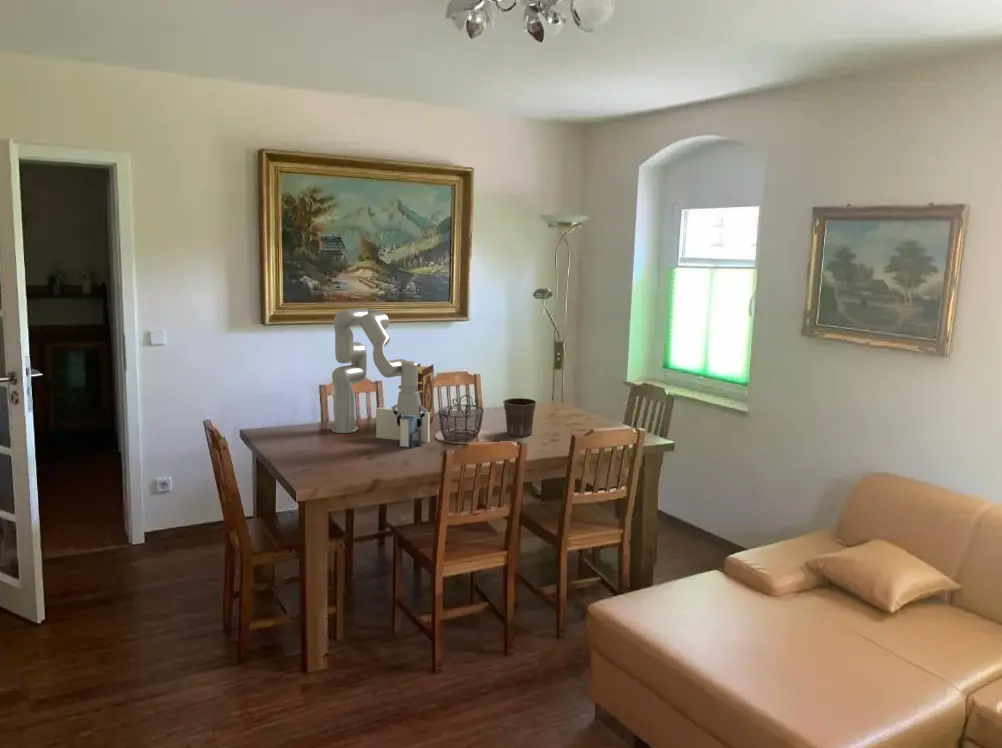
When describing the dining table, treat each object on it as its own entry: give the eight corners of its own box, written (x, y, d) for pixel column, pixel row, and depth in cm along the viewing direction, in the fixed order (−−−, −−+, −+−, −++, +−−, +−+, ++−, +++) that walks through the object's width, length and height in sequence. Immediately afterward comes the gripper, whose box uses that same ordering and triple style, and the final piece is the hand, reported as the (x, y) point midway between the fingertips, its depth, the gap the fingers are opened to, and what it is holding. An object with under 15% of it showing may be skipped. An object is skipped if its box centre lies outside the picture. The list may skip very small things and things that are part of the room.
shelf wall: (376, 437, 363) (375, 408, 360) (378, 436, 366) (378, 407, 363) (427, 442, 356) (427, 413, 353) (430, 441, 359) (430, 411, 356)
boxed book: (399, 446, 347) (399, 418, 345) (409, 440, 357) (409, 413, 355) (408, 447, 346) (408, 419, 344) (418, 441, 356) (418, 414, 354)
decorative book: (420, 431, 376) (420, 371, 371) (404, 430, 378) (404, 370, 373) (433, 421, 398) (434, 364, 393) (418, 420, 399) (419, 363, 394)
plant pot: (509, 438, 366) (510, 405, 364) (497, 430, 381) (498, 399, 378) (540, 436, 372) (542, 403, 369) (527, 428, 387) (528, 397, 384)
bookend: (397, 446, 348) (397, 432, 347) (406, 441, 357) (406, 427, 356) (417, 448, 345) (417, 434, 344) (425, 443, 355) (425, 429, 354)
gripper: (388, 389, 346) (388, 426, 349) (424, 391, 341) (424, 429, 344) (395, 386, 353) (395, 422, 356) (430, 389, 348) (430, 426, 351)
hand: (409, 426), depth 350 cm, fingers open, 9 cm apart
